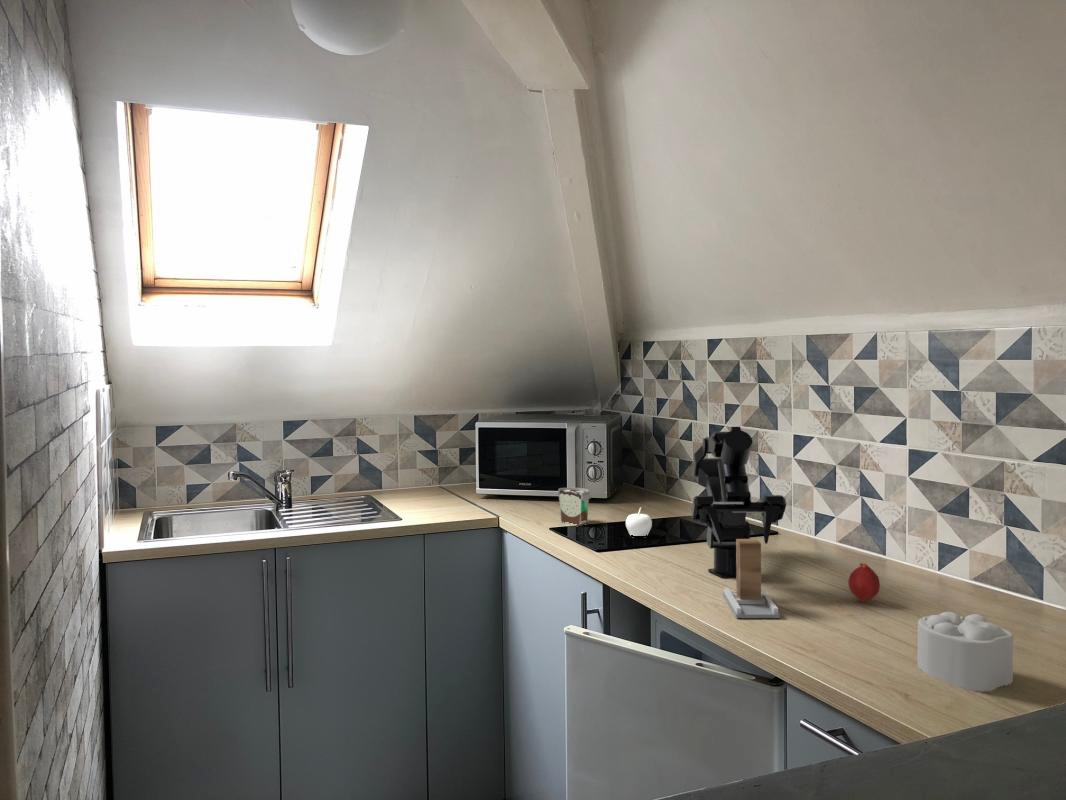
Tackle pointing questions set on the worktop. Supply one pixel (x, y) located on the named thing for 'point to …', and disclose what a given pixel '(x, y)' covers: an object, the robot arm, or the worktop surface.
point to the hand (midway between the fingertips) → (743, 542)
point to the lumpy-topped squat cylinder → (965, 651)
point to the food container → (574, 505)
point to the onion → (864, 583)
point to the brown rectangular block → (748, 572)
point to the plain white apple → (638, 524)
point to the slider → (751, 607)
